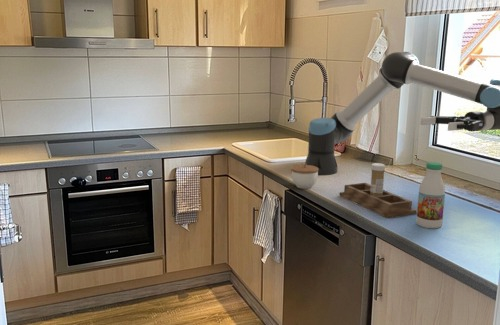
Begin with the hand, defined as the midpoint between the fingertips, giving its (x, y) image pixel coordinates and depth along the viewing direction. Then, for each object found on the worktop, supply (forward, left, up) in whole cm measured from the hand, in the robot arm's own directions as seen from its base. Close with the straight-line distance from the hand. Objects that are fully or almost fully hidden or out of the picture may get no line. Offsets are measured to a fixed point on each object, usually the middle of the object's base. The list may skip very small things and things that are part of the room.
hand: (434, 124), depth 181 cm
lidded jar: (-30, -36, -28) cm, 55 cm away
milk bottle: (+24, -22, -28) cm, 43 cm away
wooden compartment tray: (0, -24, -28) cm, 37 cm away
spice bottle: (0, -24, -27) cm, 36 cm away
